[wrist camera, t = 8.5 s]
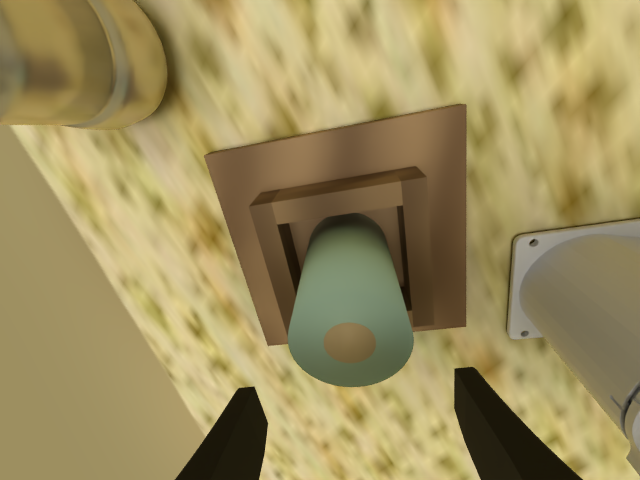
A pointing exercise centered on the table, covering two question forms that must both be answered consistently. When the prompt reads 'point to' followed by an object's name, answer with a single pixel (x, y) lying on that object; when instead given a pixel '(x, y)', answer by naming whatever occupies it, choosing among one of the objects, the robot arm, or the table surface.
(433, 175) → the brown piece
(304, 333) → the roll
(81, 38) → the plastic bottle
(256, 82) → the table surface
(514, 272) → the robot arm
